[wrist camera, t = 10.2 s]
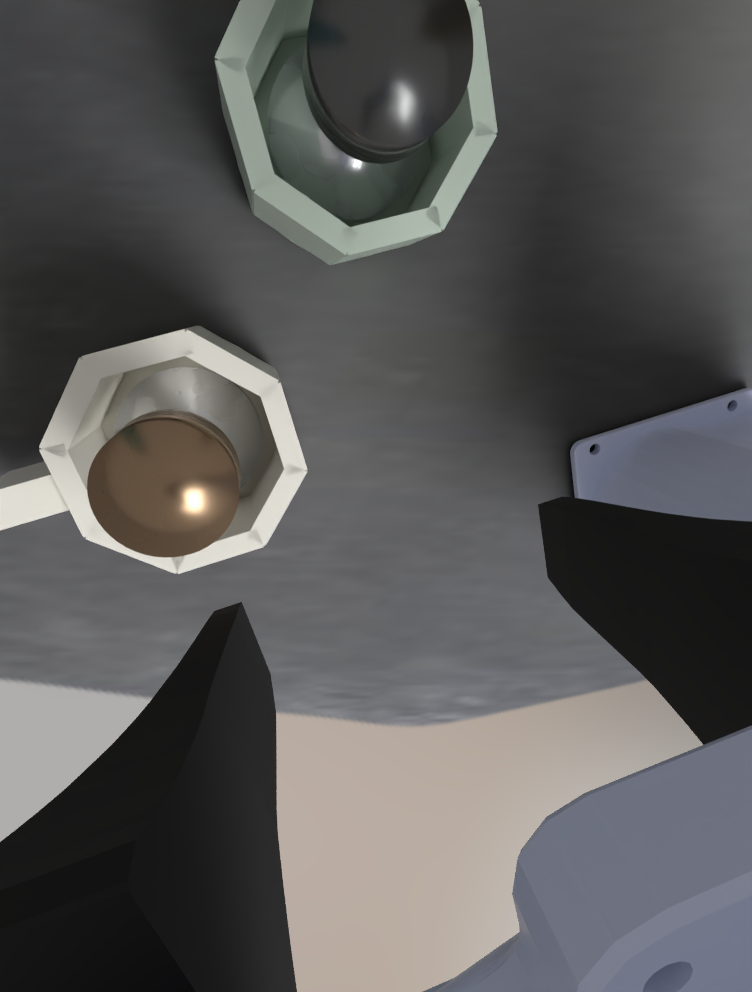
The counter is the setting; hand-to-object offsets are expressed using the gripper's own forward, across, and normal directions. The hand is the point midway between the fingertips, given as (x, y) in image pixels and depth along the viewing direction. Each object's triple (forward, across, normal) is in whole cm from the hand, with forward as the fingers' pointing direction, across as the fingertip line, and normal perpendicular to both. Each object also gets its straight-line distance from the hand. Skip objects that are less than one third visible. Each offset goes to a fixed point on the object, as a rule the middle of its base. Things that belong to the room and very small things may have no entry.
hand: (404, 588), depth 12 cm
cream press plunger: (+10, +5, -3) cm, 11 cm away
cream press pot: (+10, +6, -3) cm, 12 cm away
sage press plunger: (+10, -3, -11) cm, 15 cm away
